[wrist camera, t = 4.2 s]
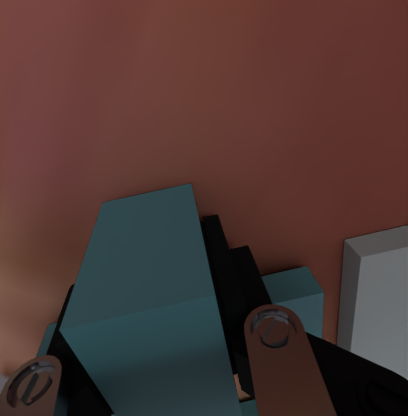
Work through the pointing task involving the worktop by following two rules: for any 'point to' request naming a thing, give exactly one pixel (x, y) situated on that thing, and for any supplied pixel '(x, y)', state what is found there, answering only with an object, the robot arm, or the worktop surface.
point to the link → (162, 311)
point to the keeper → (376, 298)
